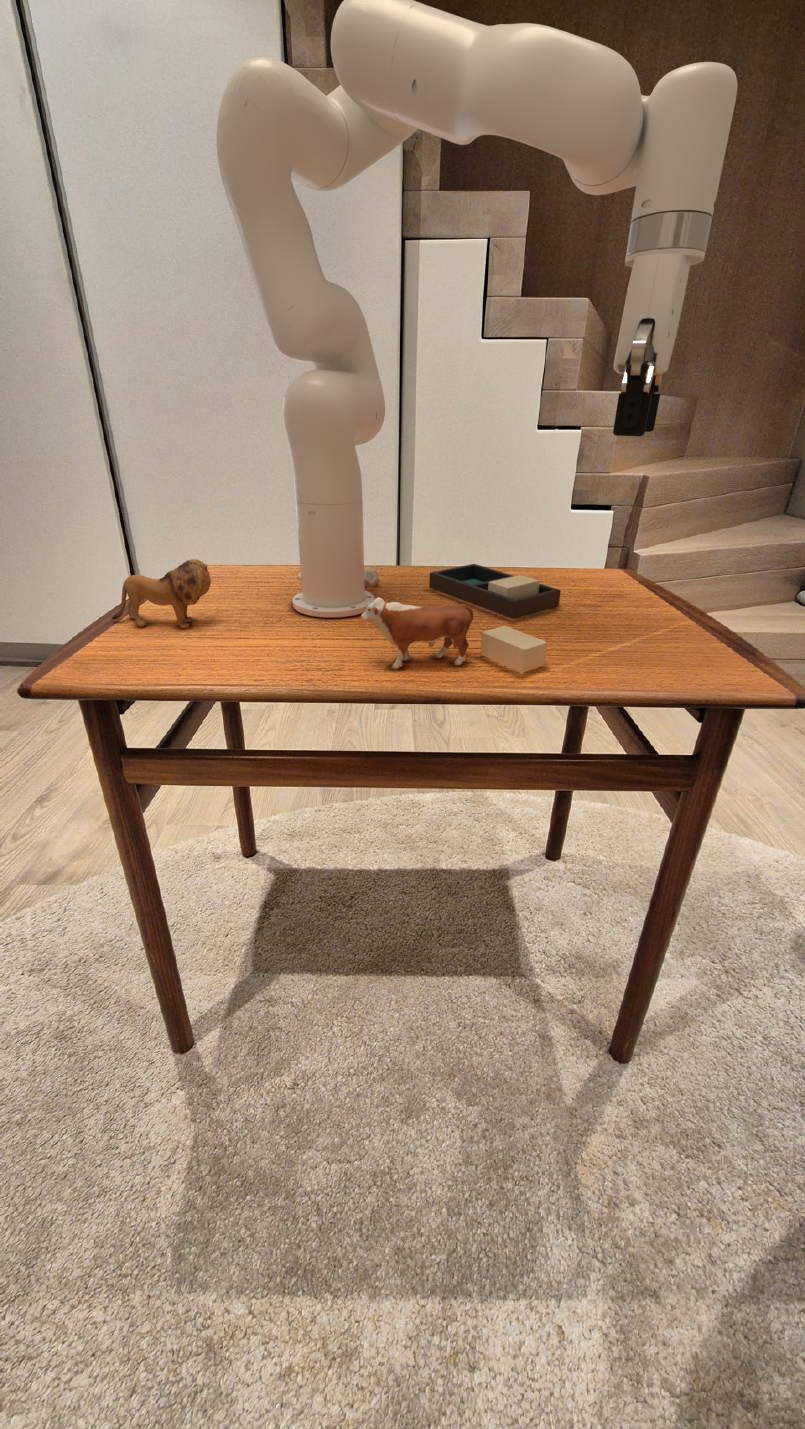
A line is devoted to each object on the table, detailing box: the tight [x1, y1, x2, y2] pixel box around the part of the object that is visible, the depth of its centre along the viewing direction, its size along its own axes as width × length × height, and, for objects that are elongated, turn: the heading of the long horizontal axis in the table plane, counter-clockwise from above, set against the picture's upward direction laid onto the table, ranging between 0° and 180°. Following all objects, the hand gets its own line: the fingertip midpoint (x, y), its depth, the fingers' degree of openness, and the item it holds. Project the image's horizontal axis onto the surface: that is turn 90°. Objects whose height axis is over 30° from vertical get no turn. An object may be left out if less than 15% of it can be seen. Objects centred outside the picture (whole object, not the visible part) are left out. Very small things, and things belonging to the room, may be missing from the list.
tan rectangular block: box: [480, 625, 548, 674], centre depth 73 cm, size 4×7×4 cm, turn 37°
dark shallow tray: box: [428, 563, 562, 620], centre depth 95 cm, size 10×19×3 cm, turn 37°
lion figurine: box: [110, 558, 212, 630], centre depth 83 cm, size 15×5×9 cm, turn 92°
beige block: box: [488, 574, 541, 600], centre depth 92 cm, size 4×7×4 cm, turn 127°
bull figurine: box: [360, 596, 474, 670], centre depth 71 cm, size 4×13×8 cm, turn 94°
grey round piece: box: [364, 567, 381, 589], centre depth 101 cm, size 4×4×3 cm
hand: (633, 433), depth 68 cm, fingers open, 9 cm apart
